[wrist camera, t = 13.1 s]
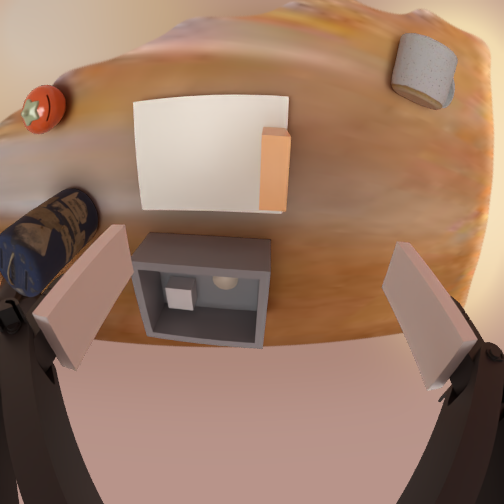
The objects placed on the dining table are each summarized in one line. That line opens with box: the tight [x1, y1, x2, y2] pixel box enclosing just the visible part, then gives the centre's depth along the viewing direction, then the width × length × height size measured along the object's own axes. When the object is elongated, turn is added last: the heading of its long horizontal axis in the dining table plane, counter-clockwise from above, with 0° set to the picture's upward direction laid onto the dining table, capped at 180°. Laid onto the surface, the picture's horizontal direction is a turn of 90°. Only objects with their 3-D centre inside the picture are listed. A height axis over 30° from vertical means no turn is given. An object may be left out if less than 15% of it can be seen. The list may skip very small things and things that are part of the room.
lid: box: [133, 95, 291, 214], centre depth 29 cm, size 19×15×11 cm
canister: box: [0, 189, 98, 297], centre depth 31 cm, size 10×10×18 cm
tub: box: [131, 233, 271, 349], centre depth 40 cm, size 18×14×8 cm
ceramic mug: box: [391, 33, 458, 110], centre depth 23 cm, size 11×8×8 cm
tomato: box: [21, 85, 66, 134], centre depth 27 cm, size 7×7×8 cm
